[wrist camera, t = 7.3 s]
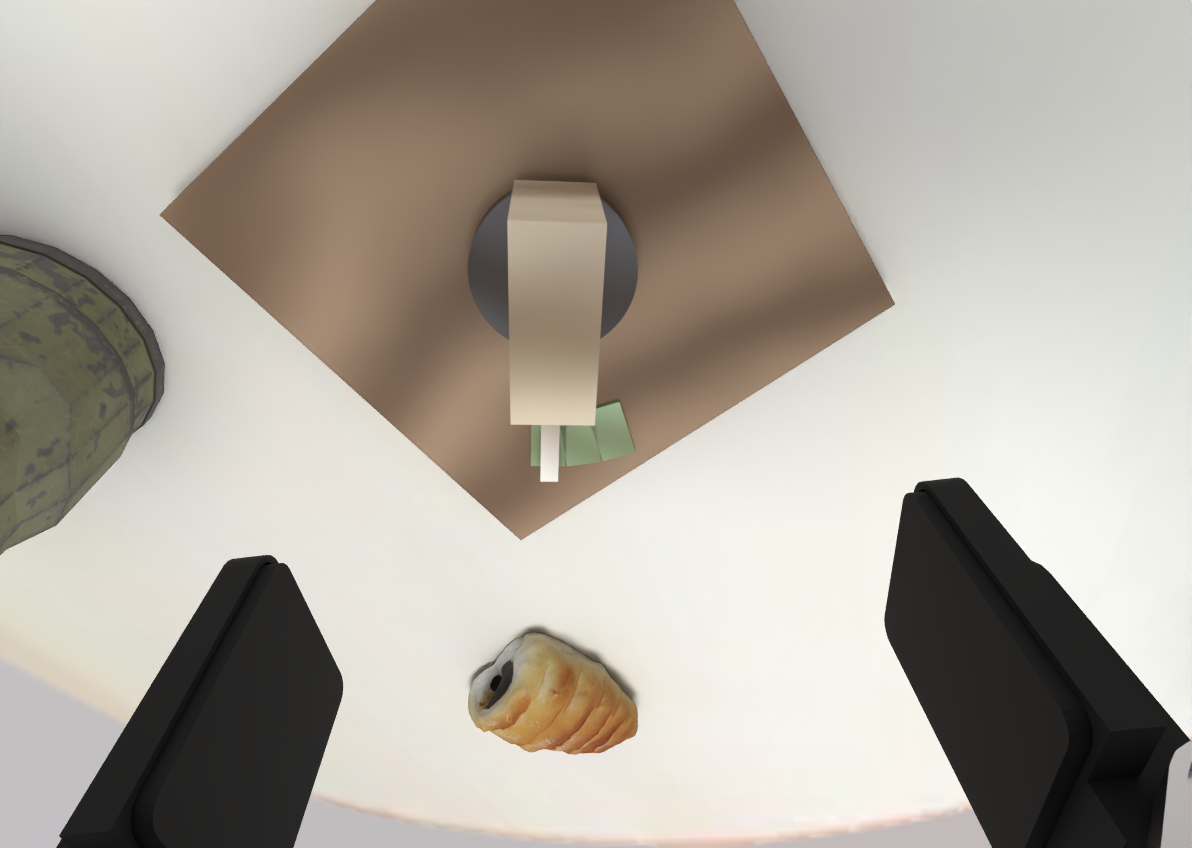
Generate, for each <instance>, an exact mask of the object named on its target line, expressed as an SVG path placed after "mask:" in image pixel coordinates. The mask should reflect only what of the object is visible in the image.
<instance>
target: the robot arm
mask: <svg viewBox="0 0 1192 848" xmlns="http://www.w3.org/2000/svg"><path fill="white" fill-rule="evenodd" d="M884 621H885V629H886V633H887V636H888V639H889V642H890V644H891V646H892V648H893V650H894V652H895V654H896V656H897V658H898V660H899V662H900V664H901V666H902V668H903V670H904V672H905V674H906V676H907V678H908V680H909V682H910V684H911V686H912V688H913V690H914V692H915V694H916V696H917V698H918V700H919V702H920V704H921V706H922V708H923V710H924V712H925V714H926V716H927V718H928V720H929V722H930V724H931V726H932V728H933V730H934V732H935V734H936V736H937V738H938V740H939V742H940V744H941V746H942V748H943V750H944V752H945V754H946V756H947V758H948V760H949V762H950V764H951V766H952V768H953V770H954V772H955V774H956V776H957V778H958V780H959V782H960V784H961V786H962V788H963V790H964V792H965V794H966V796H967V798H968V800H969V802H970V804H971V806H972V808H973V810H974V812H975V814H976V816H977V818H978V820H979V822H980V824H981V826H982V828H983V830H984V832H985V834H986V836H987V838H988V840H989V842H990V844H991V846H992V848H1192V741H1191V740H1190V739H1189V738H1188V737H1187V736H1186V734H1185V733H1184V732H1183V731H1182V730H1181V729H1180V727H1179V726H1178V725H1177V724H1176V723H1175V721H1174V720H1173V719H1172V718H1171V717H1170V715H1169V714H1168V713H1167V712H1166V711H1165V709H1164V708H1163V707H1162V706H1161V705H1160V703H1159V702H1158V701H1157V700H1156V699H1155V698H1154V696H1153V695H1152V694H1151V693H1150V692H1149V690H1148V689H1147V688H1146V687H1145V686H1144V684H1143V683H1142V682H1141V681H1140V680H1139V678H1138V677H1137V676H1136V675H1135V674H1134V672H1133V671H1132V670H1131V669H1130V668H1129V666H1128V665H1127V664H1126V663H1125V662H1124V661H1123V659H1122V658H1121V657H1120V656H1119V655H1118V653H1117V652H1116V651H1115V650H1114V649H1113V647H1112V646H1111V645H1110V644H1109V643H1108V641H1107V640H1106V639H1105V638H1104V637H1103V635H1102V634H1101V633H1100V632H1099V631H1098V630H1097V628H1096V627H1095V626H1094V625H1093V624H1092V622H1091V621H1090V620H1089V619H1088V618H1087V616H1086V615H1085V614H1084V613H1083V612H1082V610H1081V609H1080V608H1079V607H1078V606H1077V604H1076V603H1075V602H1074V601H1073V600H1072V599H1071V597H1070V596H1069V595H1068V594H1067V593H1066V591H1065V590H1064V589H1063V588H1062V587H1061V585H1060V584H1059V583H1058V582H1057V581H1056V579H1055V578H1054V577H1053V576H1052V575H1051V574H1050V573H1049V572H1048V571H1047V570H1046V569H1045V568H1044V567H1043V566H1042V565H1040V564H1038V563H1036V562H1034V561H1031V560H1030V558H1029V557H1028V556H1027V555H1026V554H1025V552H1024V551H1023V550H1022V549H1021V547H1020V546H1019V545H1018V544H1017V543H1016V541H1015V540H1014V539H1013V538H1012V537H1011V535H1010V534H1009V533H1008V532H1007V530H1006V529H1005V528H1004V527H1003V526H1002V524H1001V523H1000V522H999V521H998V520H997V518H996V517H995V516H994V515H993V513H992V512H991V511H990V510H989V509H988V507H987V506H986V505H985V504H984V503H983V501H982V500H981V499H980V498H979V496H978V495H977V494H976V493H975V492H974V490H973V489H972V488H971V487H970V486H969V484H968V483H967V482H966V481H965V480H963V479H961V478H950V479H941V480H932V481H923V482H919V483H918V484H917V485H916V487H915V490H914V492H913V493H907V494H906V495H905V496H904V499H903V504H902V510H901V517H900V523H899V529H898V535H897V542H896V548H895V554H894V560H893V567H892V573H891V579H890V586H889V592H888V598H887V604H886V611H885V619H884ZM342 694H343V680H342V676H341V673H340V671H339V669H338V667H337V665H336V663H335V661H334V659H333V657H332V655H331V653H330V650H329V648H328V646H327V644H326V642H325V640H324V638H323V636H322V634H321V632H320V630H319V628H318V626H317V624H316V622H315V620H314V618H313V616H312V614H311V612H310V610H309V608H308V606H307V603H306V601H305V599H304V597H303V595H302V593H301V591H300V589H299V587H298V585H297V583H296V581H295V579H294V577H293V575H292V573H291V571H290V569H289V567H288V566H287V565H286V564H284V563H278V562H277V560H276V559H275V558H274V557H273V556H271V555H263V556H255V557H246V558H237V559H231V560H229V561H228V562H227V563H226V564H225V565H224V566H223V568H222V569H221V571H220V573H219V574H218V576H217V578H216V579H215V581H214V583H213V584H212V586H211V587H210V589H209V591H208V592H207V594H206V596H205V597H204V599H203V601H202V602H201V604H200V606H199V607H198V609H197V610H196V612H195V614H194V615H193V617H192V619H191V620H190V622H189V624H188V625H187V627H186V629H185V630H184V632H183V633H182V635H181V637H180V638H179V640H178V642H177V643H176V645H175V647H174V648H173V650H172V651H171V653H170V655H169V656H168V658H167V660H166V661H165V663H164V665H163V666H162V668H161V670H160V671H159V673H158V674H157V676H156V678H155V679H154V681H153V683H152V684H151V686H150V688H149V689H148V691H147V693H146V694H145V696H144V697H143V699H142V701H141V702H140V704H139V706H138V707H137V709H136V711H135V712H134V714H133V715H132V717H131V719H130V720H129V722H128V724H127V725H126V727H125V729H124V730H123V732H122V734H121V735H120V737H119V738H118V740H117V742H116V743H115V745H114V747H113V749H112V750H111V752H110V753H109V755H108V757H107V758H106V760H105V762H104V763H103V765H102V766H101V768H100V770H99V772H98V773H97V775H96V776H95V778H94V780H93V781H92V783H91V784H90V786H89V788H88V790H87V791H86V793H85V794H84V796H83V798H82V799H81V801H80V802H79V804H78V806H77V807H76V809H75V811H74V813H73V814H72V816H71V817H70V819H69V821H68V822H67V824H66V826H65V827H64V829H63V830H62V832H61V834H60V835H59V836H60V837H61V838H62V839H61V841H60V843H59V844H58V846H57V847H56V848H293V847H294V844H295V841H296V837H297V834H298V831H299V828H300V825H301V822H302V819H303V816H304V813H305V810H306V807H307V804H308V801H309V798H310V795H311V791H312V788H313V785H314V782H315V779H316V776H317V773H318V770H319V767H320V764H321V761H322V758H323V755H324V751H325V748H326V745H327V742H328V739H329V736H330V733H331V730H332V727H333V724H334V721H335V718H336V715H337V711H338V708H339V705H340V702H341V699H342Z"/></svg>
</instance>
